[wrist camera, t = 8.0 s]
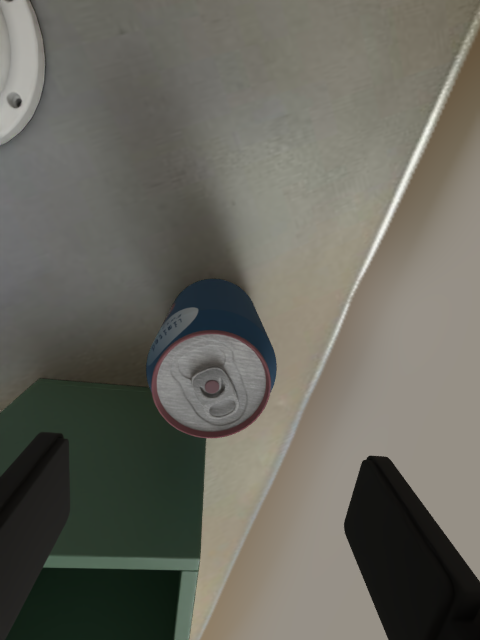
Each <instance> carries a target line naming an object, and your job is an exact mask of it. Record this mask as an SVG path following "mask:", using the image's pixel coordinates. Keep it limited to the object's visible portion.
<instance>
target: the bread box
mask: <svg viewBox="0 0 480 640" xmlns="http://www.w3.org/2000/svg"><path fill="white" fill-rule="evenodd" d="M40 432H52V433H62V434H63V437H64V439H68V440H69V472H70V513H69V517H68V519H67V522H66V524H65V526H64V528H63V530H62V532H61V533H60V535H59V537H58V539H57V541H56V543H55V545H54V547H53V549H52V551H51V553H50V555H49V557H48V558H47V560H46V562H45V564H44V566H43V568H42V570H41V572H40V574H39V576H38V578H37V580H36V582H35V583H34V585H33V587H32V589H31V591H30V593H29V595H28V597H27V599H26V601H25V603H24V605H23V606H22V608H21V610H20V612H19V614H18V616H17V618H16V620H15V622H14V624H13V626H12V628H11V630H10V631H9V633H8V635H7V637H6V639H5V640H189V638H190V630H191V623H192V615H193V608H194V601H195V593H196V586H197V579H198V571H199V564H200V553H201V532H202V512H203V491H204V470H205V450H206V438H200V437H195V436H191V435H188V434H186V433H183V432H181V431H179V430H178V429H176V428H175V427H173V426H172V425H171V424H169V423H168V422H167V421H166V420H165V419H164V418H163V416H162V415H161V414H160V412H159V411H158V409H157V407H156V405H155V403H154V400H153V397H152V392H151V390H150V388H149V387H137V386H125V385H113V384H101V383H89V382H77V381H65V380H53V379H41V378H40V379H38V380H37V381H36V382H35V383H34V384H33V385H31V386H30V387H29V388H28V389H27V390H26V391H25V392H23V393H22V394H21V395H20V396H19V397H18V398H17V399H15V400H14V401H13V402H12V403H11V404H10V405H9V406H7V407H6V408H5V409H4V410H3V411H2V412H1V413H0V477H1V476H2V474H3V473H4V472H5V471H6V470H7V469H8V468H9V466H10V465H11V464H12V463H13V462H14V461H15V460H16V458H17V457H18V456H19V455H20V454H21V453H22V452H23V451H24V449H25V448H26V447H27V446H28V445H29V444H30V443H31V441H32V440H33V439H34V438H35V437H36V436H37V435H38V434H39V433H40Z"/></svg>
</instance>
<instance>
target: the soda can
mask: <svg viewBox="0 0 480 640" xmlns="http://www.w3.org/2000/svg"><path fill="white" fill-rule="evenodd" d="M146 375H147V381H148V385H149V388H150V390H151V392H152V397H153V400H154V403H155V405H156V407H157V409H158V411H159V412H160V414H161V415H162V416H163V418H164V419H165V420H166V421H167V422H168V423H169V424H171V425H172V426H173V427H175V428H176V429H178V430H179V431H181V432H183V433H186V434H188V435H191V436H195V437H200V438H220V437H225V436H229V435H232V434H235V433H237V432H239V431H241V430H243V429H245V428H246V427H248V426H249V425H251V424H252V423H253V422H254V421H255V420H256V419H257V418H258V417H259V416H260V414H261V413H262V411H263V410H264V408H265V406H266V404H267V402H268V399H269V396H270V392H271V390H272V388H273V385H274V382H275V378H276V357H275V353H274V350H273V347H272V345H271V343H270V341H269V338H268V336H267V334H266V332H265V329H264V327H263V325H262V323H261V321H260V318H259V316H258V314H257V312H256V309H255V307H254V305H253V303H252V301H251V299H250V298H249V296H248V295H247V294H246V293H245V292H244V291H243V290H242V289H241V288H240V287H238V286H237V285H235V284H233V283H231V282H228V281H225V280H221V279H205V280H201V281H198V282H195V283H193V284H191V285H190V286H188V287H187V288H185V289H184V290H183V291H182V292H181V293H180V294H179V295H178V297H177V298H176V300H175V302H174V303H173V305H172V307H171V309H170V311H169V313H168V315H167V317H166V319H165V321H164V323H163V324H162V326H161V328H160V330H159V332H158V334H157V336H156V338H155V340H154V342H153V344H152V346H151V348H150V350H149V353H148V357H147V363H146Z"/></svg>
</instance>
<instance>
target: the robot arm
mask: <svg viewBox="0 0 480 640" xmlns="http://www.w3.org/2000/svg"><path fill="white" fill-rule="evenodd" d="M44 76H45V55H44V46H43V38H42V34H41V31H40V27H39V24H38V20H37V17H36V14H35V11H34V9H33V7H32V5H31V2H30V0H0V145H3V144H5V143H7V142H8V141H10V140H11V139H12V138H14V137H15V136H16V135H17V134H19V133H20V132H21V131H22V130H23V128H24V127H25V126H26V125H27V123H28V122H29V121H30V119H31V118H32V116H33V114H34V112H35V110H36V108H37V106H38V104H39V101H40V97H41V93H42V89H43V85H44ZM21 101H22V103H21V106H19V103H20V102H21ZM69 513H70V472H69V440H68V439H64V437H63V434H62V433H52V432H40V433H39V434H38V435H37V436H36V437H35V438H34V439H33V440H32V441H31V443H30V444H29V445H28V446H27V447H26V448H25V449H24V451H23V452H22V453H21V454H20V455H19V456H18V457H17V458H16V460H15V461H14V462H13V463H12V464H11V465H10V466H9V468H8V469H7V470H6V471H5V472H4V473H3V474H2V476H1V477H0V640H5V639H6V637H7V635H8V633H9V631H10V630H11V628H12V626H13V624H14V622H15V620H16V618H17V616H18V614H19V612H20V610H21V608H22V606H23V605H24V603H25V601H26V599H27V597H28V595H29V593H30V591H31V589H32V587H33V585H34V583H35V582H36V580H37V578H38V576H39V574H40V572H41V570H42V568H43V566H44V564H45V562H46V560H47V558H48V557H49V555H50V553H51V551H52V549H53V547H54V545H55V543H56V541H57V539H58V537H59V535H60V533H61V532H62V530H63V528H64V526H65V524H66V522H67V519H68V517H69ZM344 529H345V534H346V537H347V539H348V542H349V544H350V547H351V549H352V552H353V554H354V557H355V559H356V561H357V564H358V566H359V569H360V571H361V574H362V576H363V579H364V581H365V583H366V586H367V588H368V591H369V593H370V596H371V598H372V601H373V603H374V605H375V608H376V610H377V612H378V615H379V618H380V620H381V623H382V625H383V627H384V630H385V632H386V635H387V637H388V639H389V640H480V581H479V580H478V579H477V577H476V576H475V575H474V573H473V572H472V570H471V569H470V568H469V566H468V565H467V564H466V562H465V561H464V560H463V558H462V557H461V555H460V554H459V553H458V551H457V550H456V549H455V547H454V546H453V545H452V543H451V542H450V540H449V539H448V538H447V536H446V535H445V534H444V532H443V531H442V530H441V528H440V527H439V525H438V524H437V523H436V521H435V520H434V519H433V517H432V516H431V515H430V513H429V512H428V510H427V509H426V508H425V507H424V505H423V504H422V502H421V501H420V500H419V498H418V497H417V495H416V494H415V493H414V492H413V490H412V489H411V487H410V486H409V485H408V483H407V482H406V481H405V479H404V478H403V477H402V475H401V474H400V472H399V471H398V470H397V468H396V467H395V466H394V464H393V463H392V461H391V460H390V459H389V458H388V457H382V456H369V457H367V459H366V460H364V461H363V462H362V464H361V467H360V471H359V474H358V478H357V481H356V484H355V488H354V491H353V495H352V498H351V501H350V505H349V508H348V511H347V515H346V518H345V522H344Z"/></svg>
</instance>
